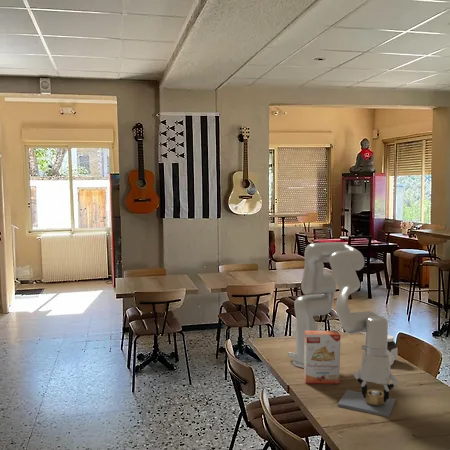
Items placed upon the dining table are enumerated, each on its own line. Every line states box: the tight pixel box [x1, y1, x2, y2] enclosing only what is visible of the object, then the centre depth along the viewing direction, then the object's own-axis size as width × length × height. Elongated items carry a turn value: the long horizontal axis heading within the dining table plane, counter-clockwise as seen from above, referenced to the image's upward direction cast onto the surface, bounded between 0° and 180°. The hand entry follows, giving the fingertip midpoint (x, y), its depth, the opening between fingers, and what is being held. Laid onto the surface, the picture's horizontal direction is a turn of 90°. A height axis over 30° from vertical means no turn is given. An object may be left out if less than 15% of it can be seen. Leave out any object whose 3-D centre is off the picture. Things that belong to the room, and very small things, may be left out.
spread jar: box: [387, 334, 399, 366], centre depth 219 cm, size 12×11×12 cm
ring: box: [365, 388, 385, 405], centre depth 174 cm, size 7×7×3 cm
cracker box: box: [303, 330, 341, 385], centre depth 196 cm, size 14×6×21 cm, turn 90°
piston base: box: [337, 389, 396, 418], centre depth 175 cm, size 18×14×5 cm
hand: (375, 398), depth 174 cm, fingers closed on ring, 6 cm apart
